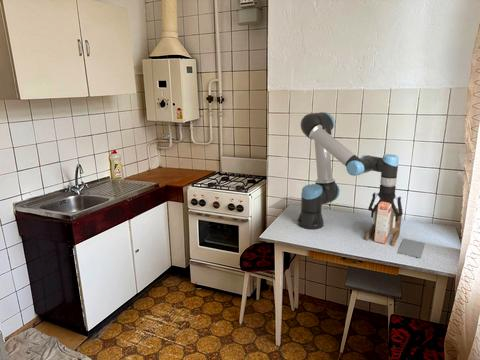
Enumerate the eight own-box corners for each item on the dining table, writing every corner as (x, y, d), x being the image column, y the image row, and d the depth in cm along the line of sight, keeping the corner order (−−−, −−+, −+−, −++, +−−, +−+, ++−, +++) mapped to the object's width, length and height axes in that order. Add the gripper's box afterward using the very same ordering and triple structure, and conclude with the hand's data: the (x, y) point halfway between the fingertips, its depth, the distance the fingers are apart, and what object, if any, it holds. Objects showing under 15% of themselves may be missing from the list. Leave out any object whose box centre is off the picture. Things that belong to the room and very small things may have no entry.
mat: (397, 253, 169) (397, 252, 169) (403, 239, 184) (403, 238, 184) (420, 258, 164) (420, 257, 164) (424, 244, 178) (424, 242, 178)
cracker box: (385, 244, 179) (389, 206, 173) (373, 241, 182) (377, 204, 176) (390, 234, 190) (394, 198, 184) (378, 232, 193) (382, 196, 187)
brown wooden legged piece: (365, 240, 184) (367, 213, 180) (372, 229, 197) (374, 204, 193) (394, 246, 176) (397, 218, 172) (399, 234, 189) (402, 209, 185)
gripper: (364, 183, 181) (360, 223, 187) (410, 189, 169) (405, 232, 175) (367, 180, 187) (364, 218, 193) (412, 186, 175) (407, 227, 181)
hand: (383, 225), depth 184 cm, fingers open, 9 cm apart
